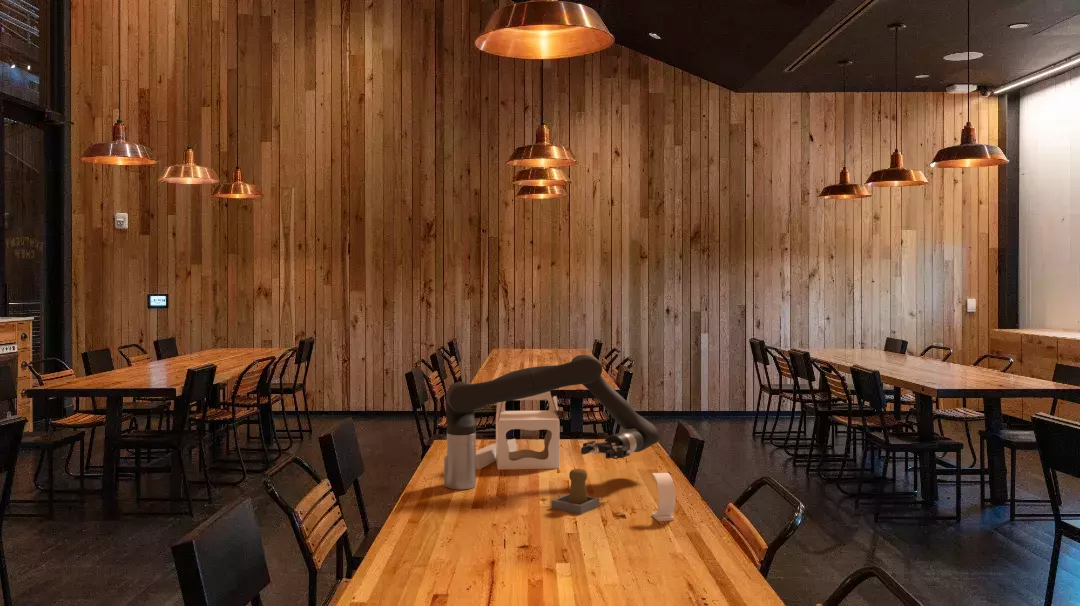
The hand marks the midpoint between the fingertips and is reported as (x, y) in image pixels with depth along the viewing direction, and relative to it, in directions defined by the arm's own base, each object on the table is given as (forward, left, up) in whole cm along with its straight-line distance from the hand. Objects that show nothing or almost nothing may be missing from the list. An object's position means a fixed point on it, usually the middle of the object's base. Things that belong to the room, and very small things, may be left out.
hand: (594, 453), depth 224 cm
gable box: (-35, +33, -14) cm, 50 cm away
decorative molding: (-52, +37, -15) cm, 66 cm away
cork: (-2, -10, -14) cm, 18 cm away
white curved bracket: (+23, -12, -14) cm, 30 cm away
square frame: (-3, -11, -14) cm, 18 cm away
